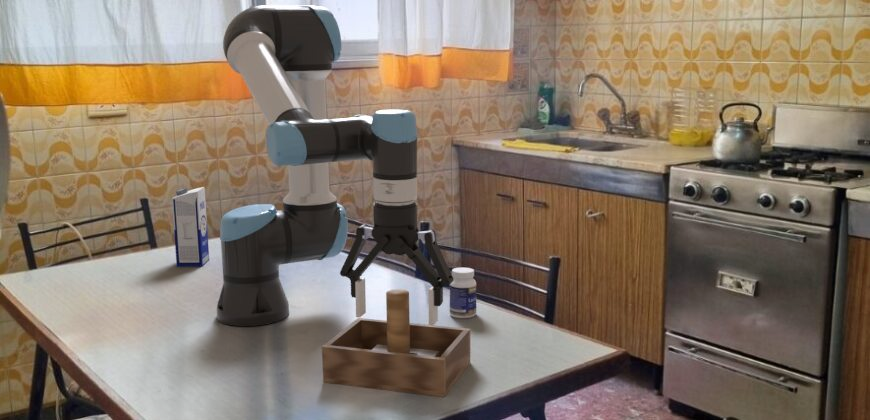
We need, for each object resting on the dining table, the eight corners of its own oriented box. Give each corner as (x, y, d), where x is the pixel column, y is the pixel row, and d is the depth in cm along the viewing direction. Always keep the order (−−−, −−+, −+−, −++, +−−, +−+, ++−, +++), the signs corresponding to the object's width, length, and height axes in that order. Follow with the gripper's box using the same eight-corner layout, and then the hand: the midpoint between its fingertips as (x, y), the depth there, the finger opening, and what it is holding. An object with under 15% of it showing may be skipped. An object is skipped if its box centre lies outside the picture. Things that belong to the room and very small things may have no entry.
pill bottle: (474, 320, 186) (474, 274, 183) (447, 318, 187) (447, 272, 185) (478, 311, 191) (478, 266, 189) (452, 310, 192) (452, 265, 190)
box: (323, 382, 154) (321, 346, 152) (359, 350, 169) (358, 317, 167) (444, 397, 147) (443, 360, 146) (470, 362, 162) (470, 328, 161)
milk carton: (202, 266, 229) (197, 190, 225) (176, 266, 229) (170, 190, 225) (209, 259, 236) (204, 185, 232) (184, 259, 236) (179, 185, 232)
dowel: (392, 363, 160) (391, 288, 157) (413, 365, 159) (412, 290, 156) (384, 371, 156) (382, 295, 153) (405, 373, 155) (404, 296, 152)
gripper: (319, 200, 152) (323, 318, 156) (458, 210, 144) (458, 333, 149) (337, 192, 159) (340, 305, 163) (471, 201, 151) (470, 319, 156)
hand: (396, 319), depth 156 cm, fingers open, 13 cm apart
